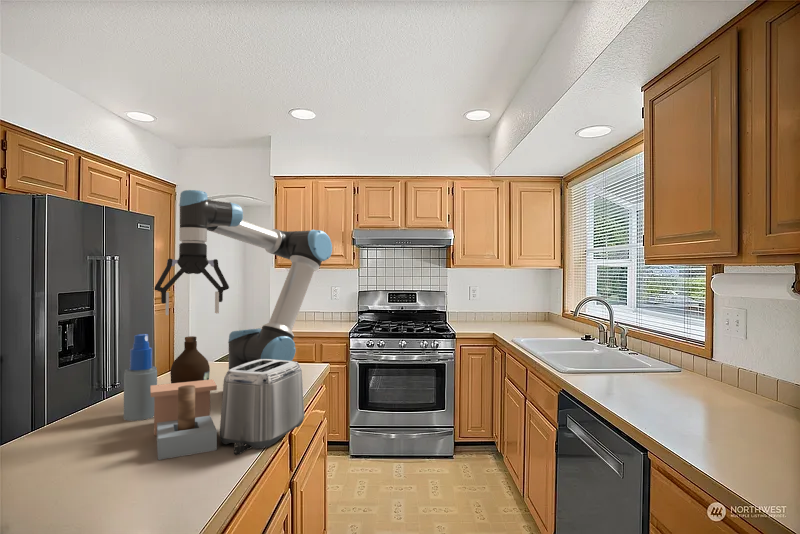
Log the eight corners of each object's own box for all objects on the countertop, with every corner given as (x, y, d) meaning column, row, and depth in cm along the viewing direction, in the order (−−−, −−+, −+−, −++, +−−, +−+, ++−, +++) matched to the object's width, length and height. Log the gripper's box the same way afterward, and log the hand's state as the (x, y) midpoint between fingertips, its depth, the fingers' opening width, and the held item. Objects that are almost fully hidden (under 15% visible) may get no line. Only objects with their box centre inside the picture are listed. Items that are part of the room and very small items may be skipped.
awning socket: (212, 424, 136) (212, 379, 136) (222, 449, 118) (223, 396, 118) (150, 433, 128) (150, 385, 128) (150, 461, 110) (151, 404, 110)
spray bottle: (163, 412, 147) (164, 332, 147) (142, 421, 138) (143, 336, 138) (138, 410, 148) (139, 332, 149) (116, 419, 140) (117, 335, 140)
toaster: (313, 421, 140) (314, 357, 140) (258, 459, 112) (258, 379, 112) (264, 415, 145) (265, 354, 145) (198, 451, 116) (199, 374, 116)
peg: (194, 442, 122) (194, 384, 122) (195, 447, 119) (196, 388, 119) (177, 444, 120) (177, 386, 120) (178, 450, 117) (178, 389, 117)
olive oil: (167, 429, 132) (168, 340, 132) (172, 417, 142) (172, 335, 142) (208, 425, 135) (209, 338, 136) (209, 414, 145) (210, 333, 146)
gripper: (234, 244, 149) (234, 311, 149) (145, 241, 137) (144, 314, 137) (239, 243, 142) (238, 313, 142) (145, 240, 130) (144, 316, 130)
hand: (192, 314), depth 140 cm, fingers open, 13 cm apart
